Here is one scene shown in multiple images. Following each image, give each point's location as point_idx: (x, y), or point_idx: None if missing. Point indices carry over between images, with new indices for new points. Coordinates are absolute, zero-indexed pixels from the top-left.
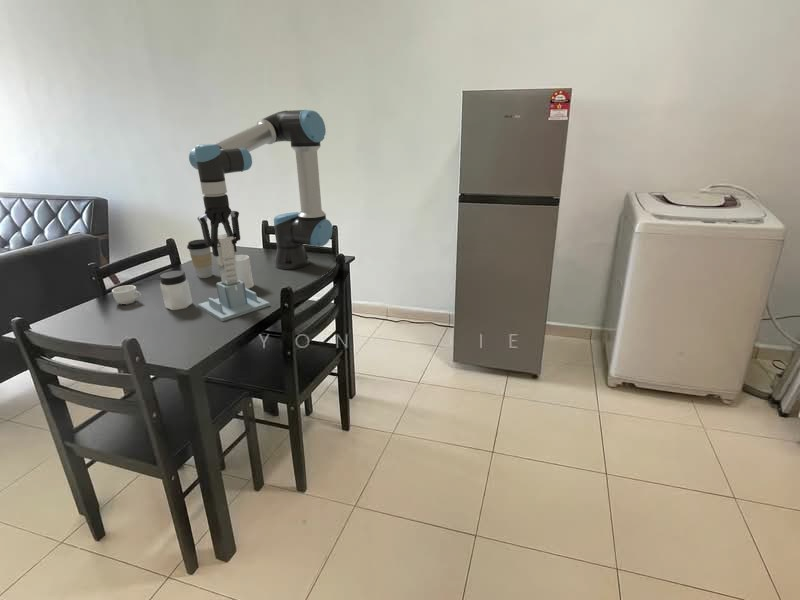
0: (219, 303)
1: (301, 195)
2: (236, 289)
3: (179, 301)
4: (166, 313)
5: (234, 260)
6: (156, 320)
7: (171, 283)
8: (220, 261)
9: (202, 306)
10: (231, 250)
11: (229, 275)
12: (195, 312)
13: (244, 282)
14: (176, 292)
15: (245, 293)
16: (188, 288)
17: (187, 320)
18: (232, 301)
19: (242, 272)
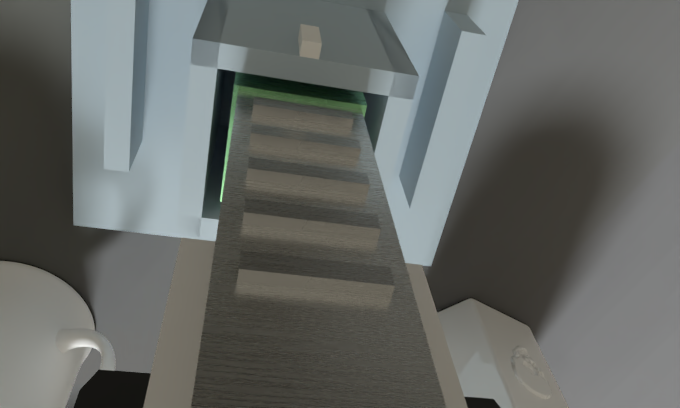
0: (470, 45)
1: None
2: (310, 27)
3: (508, 341)
4: (571, 315)
5: (220, 241)
6: (666, 276)
7: None
8: (435, 308)
9: (445, 212)
10: (232, 378)
11: (330, 155)
12: (493, 201)
13: (11, 303)
14: (535, 391)
15: (212, 5)
16: None
17: (610, 135)
18: (352, 19)
19: None
